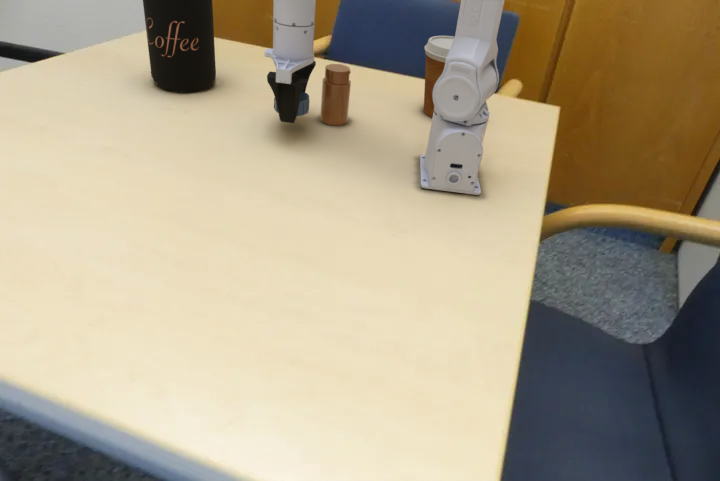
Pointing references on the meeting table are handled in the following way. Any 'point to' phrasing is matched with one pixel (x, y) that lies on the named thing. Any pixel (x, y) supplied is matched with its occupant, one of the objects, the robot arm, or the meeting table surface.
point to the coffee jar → (181, 44)
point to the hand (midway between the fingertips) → (291, 114)
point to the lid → (303, 104)
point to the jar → (335, 94)
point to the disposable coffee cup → (434, 66)
